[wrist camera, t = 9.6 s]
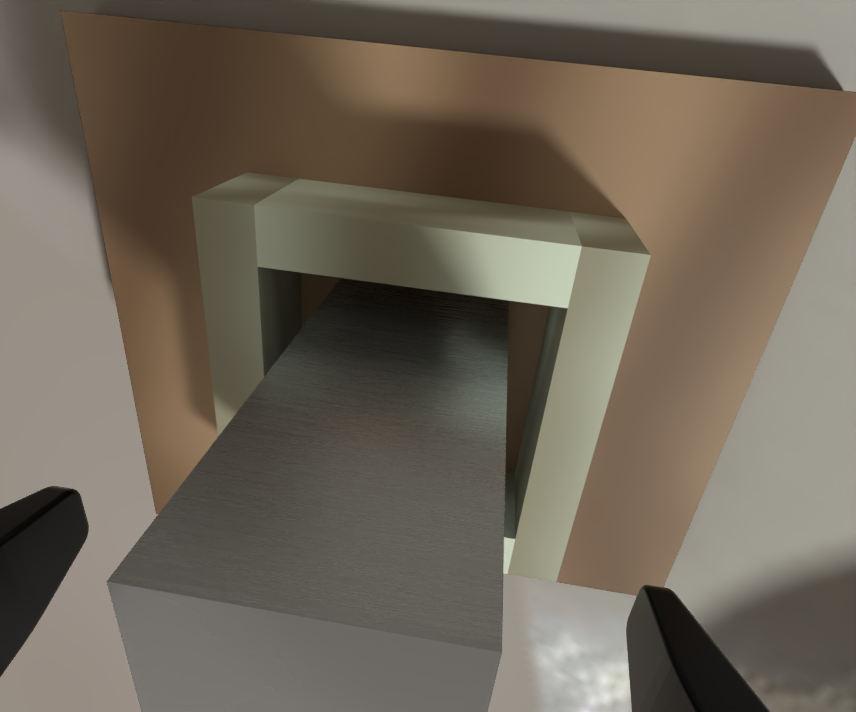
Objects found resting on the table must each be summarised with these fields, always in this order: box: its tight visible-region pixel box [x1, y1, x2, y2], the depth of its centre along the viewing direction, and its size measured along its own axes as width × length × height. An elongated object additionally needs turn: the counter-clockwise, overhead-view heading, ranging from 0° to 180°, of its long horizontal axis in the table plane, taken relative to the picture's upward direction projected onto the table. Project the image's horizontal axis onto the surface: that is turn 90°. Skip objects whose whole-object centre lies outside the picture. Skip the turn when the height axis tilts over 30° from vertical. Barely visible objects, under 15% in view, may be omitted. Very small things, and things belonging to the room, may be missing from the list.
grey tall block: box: [107, 278, 509, 712], centre depth 10 cm, size 4×4×9 cm
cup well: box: [60, 11, 856, 596], centre depth 14 cm, size 16×14×4 cm
